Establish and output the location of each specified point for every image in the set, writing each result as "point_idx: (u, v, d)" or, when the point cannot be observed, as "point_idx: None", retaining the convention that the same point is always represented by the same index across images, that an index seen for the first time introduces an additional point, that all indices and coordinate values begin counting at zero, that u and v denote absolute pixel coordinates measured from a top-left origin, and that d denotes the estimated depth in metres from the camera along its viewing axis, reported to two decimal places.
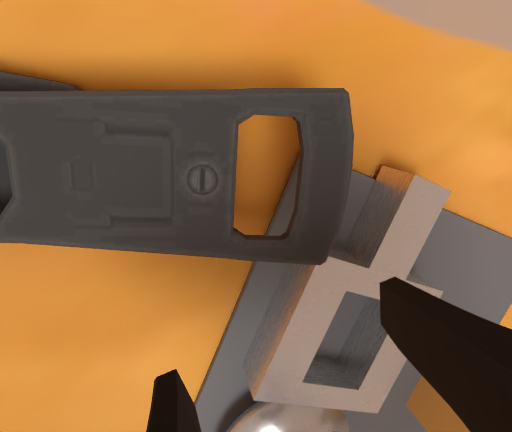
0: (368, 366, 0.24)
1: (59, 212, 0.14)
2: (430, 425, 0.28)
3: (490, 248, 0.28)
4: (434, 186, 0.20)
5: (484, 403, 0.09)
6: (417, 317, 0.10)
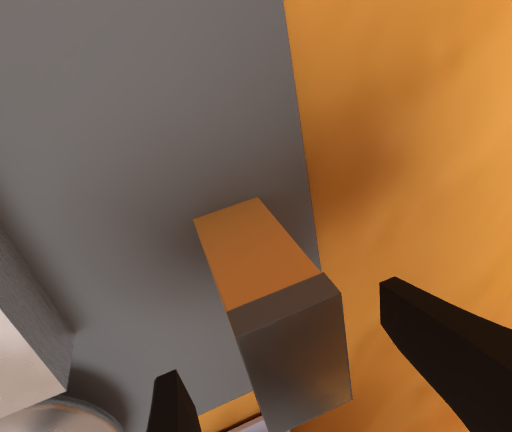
0: None
1: None
2: (233, 332, 0.15)
3: None
4: None
5: (484, 403, 0.09)
6: (417, 317, 0.10)
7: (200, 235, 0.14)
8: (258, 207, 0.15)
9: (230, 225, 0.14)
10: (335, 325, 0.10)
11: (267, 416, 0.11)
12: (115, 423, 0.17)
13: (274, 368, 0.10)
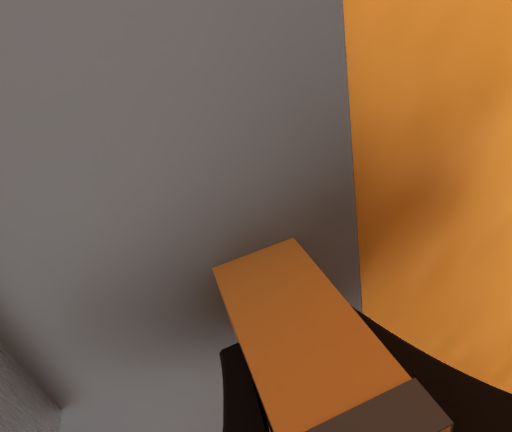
0: None
1: None
2: None
3: None
4: None
5: None
6: None
7: (224, 295, 0.10)
8: (297, 254, 0.11)
9: (263, 281, 0.11)
10: None
11: None
12: None
13: None
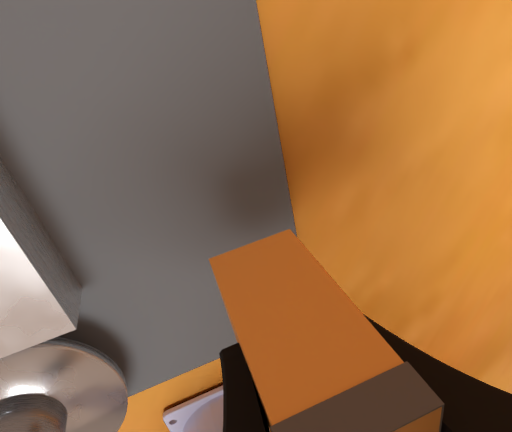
0: None
1: None
2: None
3: None
4: None
5: None
6: None
7: (220, 284, 0.11)
8: (293, 244, 0.12)
9: (259, 270, 0.11)
10: None
11: None
12: (117, 367, 0.19)
13: None
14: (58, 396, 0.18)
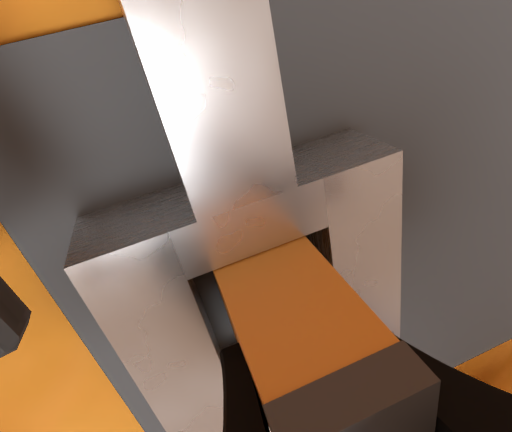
0: None
1: None
2: None
3: None
4: None
5: None
6: None
7: None
8: None
9: (255, 255, 0.11)
10: (425, 422, 0.07)
11: None
12: None
13: None
14: None
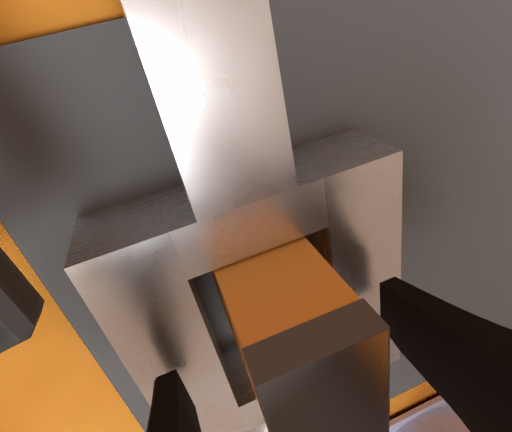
0: None
1: None
2: (242, 357, 0.13)
3: None
4: None
5: (484, 403, 0.09)
6: (417, 317, 0.10)
7: None
8: None
9: None
10: (378, 365, 0.08)
11: None
12: None
13: (301, 420, 0.08)
14: None
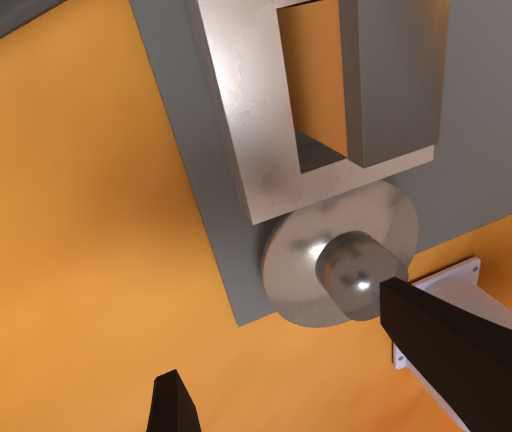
0: None
1: None
2: (306, 123, 0.15)
3: None
4: None
5: (484, 403, 0.09)
6: (417, 317, 0.10)
7: (282, 8, 0.14)
8: None
9: (311, 1, 0.14)
10: (441, 20, 0.10)
11: (365, 131, 0.11)
12: None
13: (382, 60, 0.10)
14: (376, 238, 0.20)
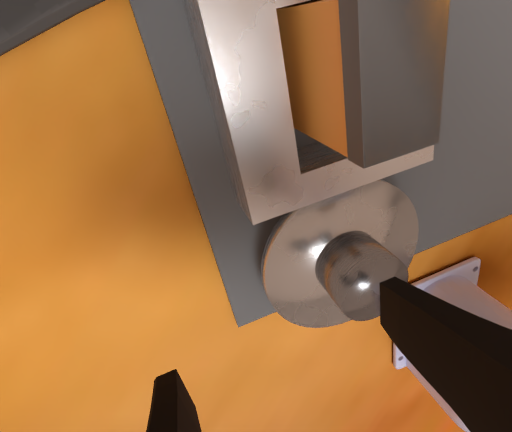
0: None
1: None
2: (306, 123, 0.15)
3: None
4: None
5: (484, 403, 0.09)
6: (417, 317, 0.10)
7: (282, 8, 0.14)
8: None
9: (311, 1, 0.14)
10: (441, 20, 0.10)
11: (365, 131, 0.11)
12: None
13: (382, 60, 0.10)
14: (376, 238, 0.20)
